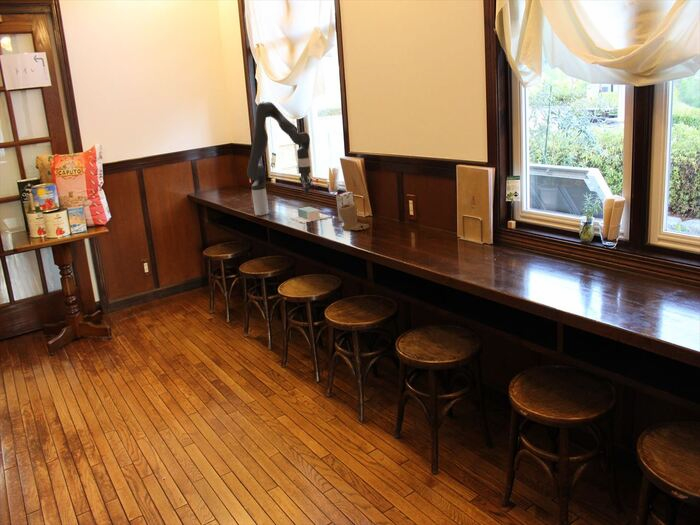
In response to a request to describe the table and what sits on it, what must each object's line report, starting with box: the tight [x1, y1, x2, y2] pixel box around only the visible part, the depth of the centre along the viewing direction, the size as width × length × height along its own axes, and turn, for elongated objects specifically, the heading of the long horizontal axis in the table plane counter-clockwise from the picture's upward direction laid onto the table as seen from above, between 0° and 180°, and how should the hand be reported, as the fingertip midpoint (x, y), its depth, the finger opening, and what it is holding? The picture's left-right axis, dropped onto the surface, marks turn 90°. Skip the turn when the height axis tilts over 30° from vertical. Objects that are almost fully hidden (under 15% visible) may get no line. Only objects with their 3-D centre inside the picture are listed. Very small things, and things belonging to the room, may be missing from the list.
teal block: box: [297, 206, 320, 220], centre depth 393 cm, size 5×8×14 cm
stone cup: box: [339, 203, 370, 231], centre depth 352 cm, size 15×12×15 cm
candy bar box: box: [335, 191, 355, 223], centre depth 377 cm, size 11×5×16 cm, turn 143°
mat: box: [290, 212, 332, 224], centre depth 392 cm, size 17×20×1 cm
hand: (306, 192), depth 389 cm, fingers closed
